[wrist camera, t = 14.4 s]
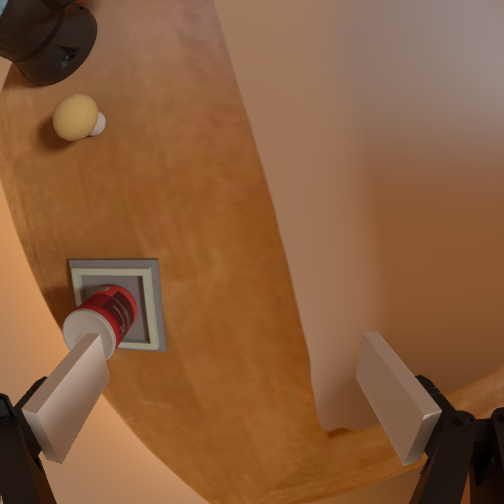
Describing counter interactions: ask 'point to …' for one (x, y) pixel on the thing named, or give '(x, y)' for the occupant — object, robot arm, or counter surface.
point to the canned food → (102, 318)
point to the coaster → (138, 284)
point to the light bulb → (77, 118)
